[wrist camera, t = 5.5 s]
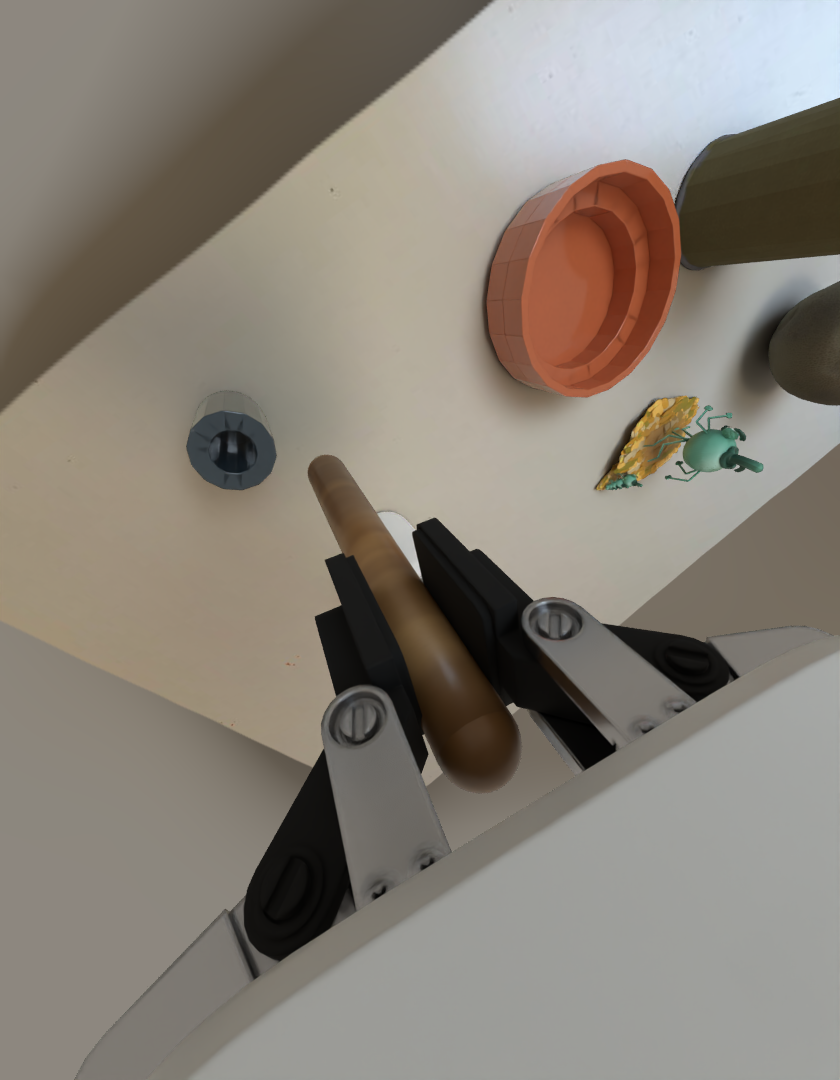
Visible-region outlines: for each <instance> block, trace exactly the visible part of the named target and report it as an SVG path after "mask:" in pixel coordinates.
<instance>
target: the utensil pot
mask: <svg viewBox="0 0 840 1080" xmlns="http://www.w3.org/2000/svg"><path fill="white" fill-rule="evenodd" d="M186 447H187V452H188V456H189V459H190V462H191V465H192V467H193V468H194V469H195V470H196V471H197V472H198V473H199V474H200V476H201V477H202V478H203V479H204V480H206V481H207V482H209V483H212V484H214V485H216V486H218V487H220V488H223V489H231V490H244V489H247V488H250V487H253V486H256V485H259V484H260V483H261V482H262V481H263V480H264V479H265V478H266V477H267V476H268V475H270V474H271V472H272V470H273V467H274V463H275V460H276V456H277V455H276V449H275V444H274V439H273V436H272V433H271V430H270V427H269V424H268V421H267V418H266V416H265V414H264V413H263V411H262V409H261V408H260V406H259V405H258V404H257V403H256V402H255V401H254V400H252V399H251V398H250V397H248V396H246V395H244V394H242V393H239V392H235V391H220V392H216V393H213V394H211V395H210V396H208V397H207V398H205V400H204V401H203V402H202V403H201V404H200V406H199V407H198V409H197V412H196V415H195V418H194V421H193V424H192V427H191V430H190V433H189V437H188V442H187V446H186Z"/></svg>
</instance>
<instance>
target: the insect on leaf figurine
mask: <svg viewBox="0 0 840 1080" xmlns="http://www.w3.org/2000/svg"><path fill="white" fill-rule="evenodd" d="M698 401H699V398H696V397H693V398H692V399H689V398H688V397H687V396H677V397H675V398H674V399H673V398H670V399H667V398H663V399H658V400H656V402H655V403H654V404H653V405H652V406H651V407H650V408H649V409H648V410H647V411H646V414H645V415H644V417H643V418H641V419H640V421H639V422H638V423H637V425H636V427H635V428H634V429H633V431H632V433H631V439H629V440H631V441H630V442H629V443H627V445H626V446H625V447H624V450H623V451H622V452H621V456H620V457H619V464H618V463H617V464H616V465H615V464H614V465H613V468H612V470H610V472H609V473H608V474H606V475H605V477H604V478H603V479H602V480H601V482H600V484H599V485H598V486H597V488H596V489H597V490H604V489H607V490H613V489H615V490H617V489H618V488H620V489H622V487H623V488H624V487H626V488H629V487H631V486H636V485H638V487H639V486H640V487H642V486H643V485H642V484H640V483H637V481H639V480H640V479H644V478H645V477H646V476H648V475H650V474H652V473H654V472H656V470H657V469H658V468H659V467H661V466H662V465H663V464H665V463H666V462H667V461H669V460H670V459H671V457H672V455H673V454H674V453H676V452H677V451H678V448H679V447H680V446H681V442H685V441H686V444H685V446H684V449H683V459H684V461H685V463H686V464H688V465H689V466H690V467H691V468H693V469H694V470H693V471H691V472H688V473H686V472H685V470H684V469H683V468H682V466H681V464H683V461H681V462H680V461H677V462H676V465H679V467H680V468H681V469H682V471H683V472H684V474H690V473H692V472H695V471H698V472H697V473H696V474H695V475H693V476H692V477H691V478H690V479H689V480H684V479H677V478H671V475H669V476H665V479H675V480H681V481H686V482H688V481H690V480H692V479H693V478H694V477H695V476H696V475H697V474H698V473H699V472H700V471H701V472H714V471H718V470H720V469H722V468H725V469H733V468H735V467H736V464H737V465H740V467H739V468H738V469H735V470H734V471H735V472H741V471H743V470H745V468H747V469H749V470H751V471H753V472H756V473H758V472H761V471H762V470H763V464H762V463H759V462H757V461H754V460H752V459H749V458H746V457H744V456H740V455H738V451H739V449H738V448H737V447H736V442H735V439H738V436H739V435H740V440H741V441H745V440H746V435H745V434H744V432H742V431H741V430H740V429H737V428H734V429H732V428H727V427H729V426H724V427H722V428H721V431H720V430H714V429H710V419H712V418H720V417H727V418H732V413H726V415H723V416H715V417H708V430H705V429H704V428H703V427H702V426H701V425H700V424H699V423H698V421H699V420H700V419H701V418H702V416H703V415H704V414H705V413H706V412H707V410H708V411H711V410H713V408H711V406H709V405H708V406H706V407H705V408H704V409H705V411H704V413H703V414H702V415H701V416H700V417H699V418H698V420H697V421H696V424H697V425H698V426H699V427H700V428H701V429H702V430H703V431H701V432H699V433H696V434H695V435H693V436H692V435H691V434H689V433H688V432H687V431H686V429H687V428H690V426H688V427H687V426H686V425H688V424H689V423H690V422H691V419H692V418H693V417H694V416H695V415H696V413H697V410H698V408H699V407H698V405H697V403H698ZM685 433H686V434H687V435H689V436H690V437H691V438H690V439H689V438H685V435H686V434H685ZM682 439H683V440H682ZM625 472H627V475H625V476H624V477H623V476H622V475H621V473H625ZM620 475H621V476H622V477H623V479H619V477H620Z"/></svg>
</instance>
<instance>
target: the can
mask: <svg viewBox="0 0 840 1080" xmlns="http://www.w3.org/2000/svg"><path fill="white" fill-rule="evenodd" d="M377 515H378V516H379V518H380V519H381V521H382V522H383V524H384V525H385V527H386V528H387V530H388V531H389V533H390V534H391V536H392V537H393V539H394V540H395V541H396V543H397V544H398V546H399V547H400V549H401V550H402V552H403V553H404V555H405V556H406V558H407V559H408V561H409V562H410V564H411V565H412V567H413V568H414V570H415V571H416V573H417V574H418V576H419V577H420V579H421V580H422V576H421V571H420V567H419V563H418V558H417V554H416V550H415V546H414V541H413V537H412V532H413V531H415V529H414V528H413V527H412V526H411V524H410V523H409V522H408V521H407V520H406V519H405V518H404V517H403V516H401V515H400V514H397V513H394V512H380V513H377ZM422 582H423V580H422Z"/></svg>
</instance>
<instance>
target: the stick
mask: <svg viewBox="0 0 840 1080" xmlns="http://www.w3.org/2000/svg"><path fill="white" fill-rule="evenodd" d="M308 478H309V481H310V483H311V485H312V487H313V490H314V492H315V494H316V496H317V498H318V501H319V503H320V505H321V507H322V509H323V512H324V514H325V516H326V518H327V520H328V523H329V525H330V527H331V529H332V531H333V534H334V536H335V538H336V540H337V542H338V545H339V547H340V549H341V551H342V553H344V554H345V556H346V557H349V556H351V555H354V557H355V559H356V561H357V563H358V565H359V567H360V569H361V571H362V573H363V575H364V577H365V579H366V581H367V583H368V585H369V587H370V589H371V591H372V593H373V595H374V597H375V599H376V601H377V603H378V605H379V607H380V609H381V611H382V613H383V615H384V617H385V619H386V621H387V623H388V625H389V626H390V628H391V630H392V632H393V634H394V636H395V638H396V640H397V642H398V645H399V647H400V649H401V651H402V654H403V656H404V659H405V662H406V665H407V668H408V671H409V675H410V678H411V681H412V684H413V687H414V690H415V694H416V697H417V700H418V703H419V706H420V710H421V713H422V720H421V726H422V730H423V732H424V734H425V736H426V738H427V741H428V743H429V745H430V747H431V749H432V752H433V754H434V756H435V758H436V760H437V763H438V765H439V766H440V768H441V770H442V771H443V773H444V775H445V776H446V777H447V778H448V779H449V780H450V781H451V782H452V783H454V784H455V785H456V786H458V787H459V788H461V789H463V790H465V791H468V792H472V793H478V794H482V793H490V792H493V791H495V790H498V789H499V788H501V787H503V786H504V785H505V784H507V783H508V782H509V781H510V780H511V779H512V777H513V776H514V774H515V772H516V771H517V769H518V766H519V763H520V759H521V753H522V742H521V736H520V732H519V729H518V725H517V724H516V722H515V720H514V718H513V716H512V715H511V713H510V712H509V710H508V709H507V707H506V706H505V704H504V703H503V701H502V700H501V698H500V697H499V695H498V694H497V692H496V691H495V689H494V688H493V686H492V685H491V683H490V682H489V680H488V679H487V677H486V676H485V674H484V673H483V672H482V670H481V669H480V667H479V666H478V664H477V663H476V661H475V660H474V658H473V657H472V655H471V654H470V652H469V651H468V649H467V648H466V646H465V645H464V643H463V642H462V640H461V639H460V637H459V636H458V634H457V633H456V631H455V630H454V628H453V627H452V625H451V624H450V622H449V621H448V619H447V618H446V616H445V615H444V613H443V612H442V610H441V609H440V607H439V606H438V604H437V603H436V601H435V600H434V598H433V597H432V595H431V594H430V592H429V591H428V589H427V588H426V586H425V585H424V583H423V582H422V580H421V579H420V577H419V576H418V574H417V573H416V571H415V570H414V568H413V567H412V565H411V564H410V562H409V561H408V559H407V558H406V556H405V555H404V553H403V552H402V550H401V549H400V547H399V546H398V544H397V543H396V541H395V540H394V539H393V537H392V536H391V534H390V533H389V531H388V530H387V528H386V527H385V525H384V524H383V522H382V521H381V519H380V518H379V516H378V515H377V513H376V512H375V510H374V509H373V507H372V506H371V504H370V503H369V501H368V500H367V498H366V497H365V495H364V494H363V492H362V491H361V489H360V488H359V486H358V485H357V483H356V482H355V480H354V479H353V477H352V476H351V474H350V473H349V471H348V470H347V468H346V467H345V465H344V464H343V463H342V461H341V460H339V459H338V458H337V457H335V456H332V455H320V456H318V457H316V458H315V459H314V460H313V461H312V462H311V463H310V466H309V468H308Z"/></svg>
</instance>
